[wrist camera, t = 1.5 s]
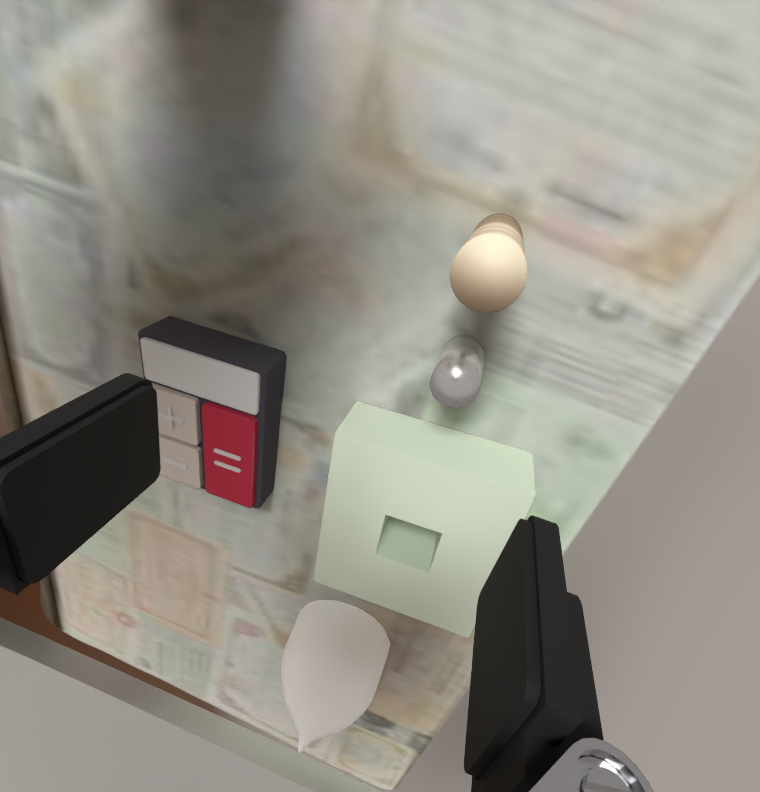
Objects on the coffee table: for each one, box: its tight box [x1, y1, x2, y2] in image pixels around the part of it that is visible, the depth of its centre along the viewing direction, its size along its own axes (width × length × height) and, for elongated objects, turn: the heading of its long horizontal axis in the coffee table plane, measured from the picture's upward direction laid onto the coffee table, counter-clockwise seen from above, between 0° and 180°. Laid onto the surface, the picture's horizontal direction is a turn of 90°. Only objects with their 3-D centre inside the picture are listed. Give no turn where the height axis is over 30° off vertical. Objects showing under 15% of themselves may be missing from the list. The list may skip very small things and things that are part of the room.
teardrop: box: [281, 600, 391, 753], centre depth 44 cm, size 11×11×12 cm
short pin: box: [430, 336, 484, 408], centre depth 29 cm, size 3×3×5 cm
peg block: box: [313, 401, 535, 638], centre depth 35 cm, size 16×14×5 cm
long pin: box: [450, 214, 527, 312], centre depth 22 cm, size 3×3×11 cm
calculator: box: [138, 316, 286, 508], centre depth 38 cm, size 11×4×15 cm
